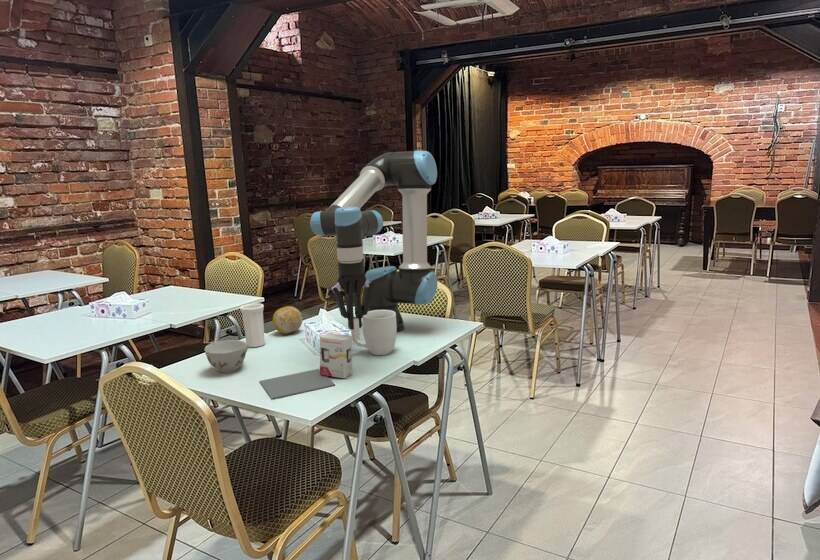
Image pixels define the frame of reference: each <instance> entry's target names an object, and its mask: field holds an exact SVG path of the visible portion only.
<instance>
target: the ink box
mask: <svg viewBox="0 0 820 560" xmlns="http://www.w3.org/2000/svg"><path fill="white" fill-rule="evenodd" d="M352 369H353V340H352V335H347V334H339V333H334V332H327V333H325V334H324V335H323V334H322V335H321V336H319V370H320V375H325V376H327V377H332V378H339V379H346V378H347V377H349V376H351V375H352V374H353V370H352Z"/></svg>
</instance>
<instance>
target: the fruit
mask: <svg viewBox="0 0 820 560" xmlns="http://www.w3.org/2000/svg"><path fill="white" fill-rule="evenodd" d="M302 315H303V314H302V313H301V311H300V310H299V309H298V308H296V307H295V306H291V305H289V306H288V305H287V306H284V307H281V308H278V309H277V310H276V311H275V312H274V313H273V316H272V323H273V327H274V328H275V330H276V331H277V332H279V333H280V334H283V335H287V334H291V333H294V332H296V331H298V330H299V329H300V328H301V326H302V324H303V316H302Z"/></svg>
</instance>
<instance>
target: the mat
mask: <svg viewBox="0 0 820 560" xmlns="http://www.w3.org/2000/svg"><path fill="white" fill-rule="evenodd" d="M259 384H260V385H261V386H262V387H263V389H264V391H265V392H266V393H267V396H269V398H270V397H271V398H270V399H271V400H272V399H273V400H277V399H282V398H286V397H289V396H290V397H291V396H295V395H296V396H297V395H299V394H300V395H301V394H304V393H309V392H312V391H316V390H322V389H326V388H330V387H335V386H336V383H334V381H333V380H331V379H330V378H329V376H325V375H320V368H315V369H312V370H305V371H300V372H297V373H291V374H287V375H283V376H276V377H273V378H268V379H261V380H259ZM276 398H277V399H276Z"/></svg>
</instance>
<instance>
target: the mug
mask: <svg viewBox="0 0 820 560" xmlns="http://www.w3.org/2000/svg"><path fill="white" fill-rule="evenodd" d="M361 319H362V331H363V337H364V342H365V343H360V342H358V340H356V341H355V340H354V339H352V343H354V345H356V346H357V347H360V348H365V349H368V350H369V352H370V353H371V354H372V355H375V356H386V355H389V354H391V352H392V351H393V350H394V348H395V345H396V342H397V333H398V332H397V325H396V313H395V312H394V311H391V310H373V311H368V312H367V314H366V315H363V318H361ZM350 336H352V332H351V335H350Z"/></svg>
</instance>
